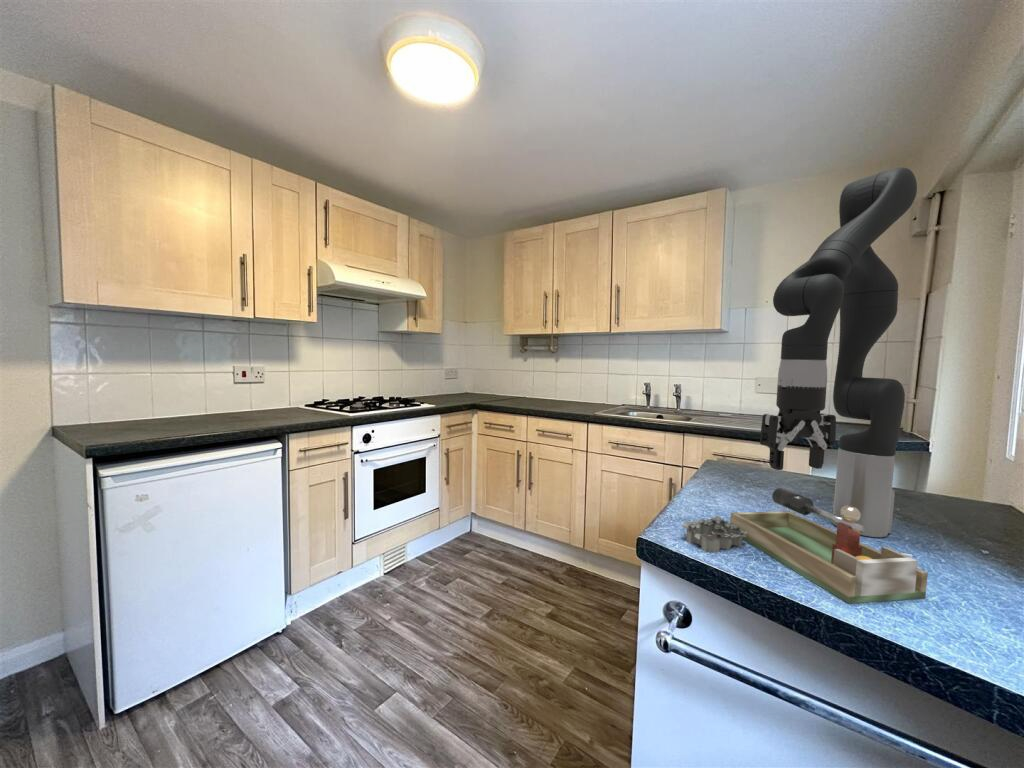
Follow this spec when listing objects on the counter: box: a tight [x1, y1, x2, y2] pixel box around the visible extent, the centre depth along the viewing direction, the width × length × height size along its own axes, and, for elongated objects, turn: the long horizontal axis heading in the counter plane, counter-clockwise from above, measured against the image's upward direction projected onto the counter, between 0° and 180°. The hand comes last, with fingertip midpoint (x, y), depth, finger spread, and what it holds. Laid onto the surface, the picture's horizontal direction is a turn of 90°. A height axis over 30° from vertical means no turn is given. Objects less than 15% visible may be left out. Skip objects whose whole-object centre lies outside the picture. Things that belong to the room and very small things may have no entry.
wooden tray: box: [729, 510, 929, 604], centre depth 72 cm, size 14×25×6 cm, turn 9°
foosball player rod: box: [771, 487, 865, 564], centre depth 72 cm, size 4×16×11 cm, turn 9°
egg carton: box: [682, 515, 747, 553], centre depth 78 cm, size 11×8×4 cm
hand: (795, 468), depth 76 cm, fingers open, 8 cm apart
